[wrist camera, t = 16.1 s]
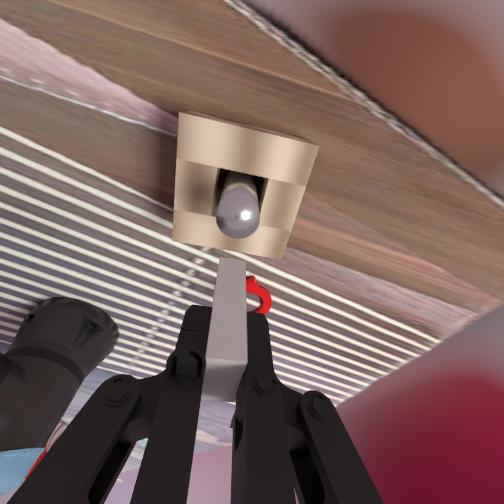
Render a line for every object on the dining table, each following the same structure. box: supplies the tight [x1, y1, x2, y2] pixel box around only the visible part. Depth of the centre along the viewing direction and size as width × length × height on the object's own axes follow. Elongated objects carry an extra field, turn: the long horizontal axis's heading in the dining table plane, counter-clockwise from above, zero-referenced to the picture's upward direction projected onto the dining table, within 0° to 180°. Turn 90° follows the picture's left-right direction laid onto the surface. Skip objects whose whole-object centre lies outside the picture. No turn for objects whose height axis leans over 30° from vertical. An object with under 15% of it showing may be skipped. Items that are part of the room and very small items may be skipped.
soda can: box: [16, 421, 67, 488], centre depth 59 cm, size 7×7×12 cm
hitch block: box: [172, 111, 319, 259], centre depth 30 cm, size 14×14×6 cm
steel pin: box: [216, 171, 260, 239], centre depth 27 cm, size 4×4×12 cm
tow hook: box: [246, 277, 272, 315], centre depth 38 cm, size 8×13×9 cm
